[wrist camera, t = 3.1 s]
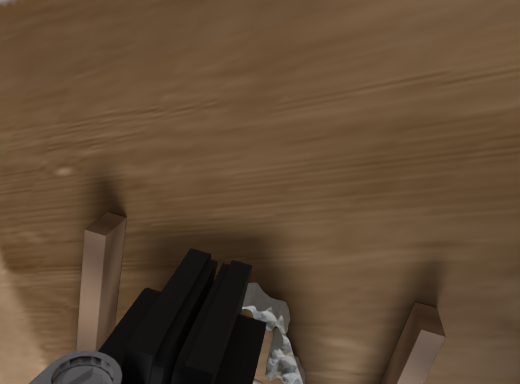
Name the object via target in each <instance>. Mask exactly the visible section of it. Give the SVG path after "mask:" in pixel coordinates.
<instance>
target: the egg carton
mask: <svg viewBox="0 0 520 384" xmlns="http://www.w3.org/2000/svg"><path fill="white" fill-rule="evenodd" d="M242 309H249V310H250V311H251V312H252V314H253V317H254V319H257V320H261V321H264V322H267V325H266V329H267V330H268V331H269V332H270V331H272V329H273V328H274V327H275V326H277V328H276V329H275V331H274V335H273V339H272V343H271V347H270V352H269V356H268V359H267V368H266V373H265V376H266V378H267V379H268V380H270V381H271V380H272V379H279V380H281V381H282V382H283V383H284V384H305V382H304V380H305V371H304V369H303V367H302V365H301V363H300V361H299V358H298V357H295V356H294V355H293V352H292V348H291V345H290V341H289V340H288V338H287V337H286V333H287V331H288V325H289V322H290V311H289V309H288V306H287V304H286V302H285V301H281V300H276V299H273V298H271V297H269V296H268V295H267V294H265V293H264V292H263V290H262V289H261V287H260V286H259V285H258V284H257V283H248V286H247V291H246V295H245V299H244V303H243V307H242ZM253 384H262V383H261V382H259V381H257V380H254V381H253Z"/></svg>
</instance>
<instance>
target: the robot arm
mask: <svg viewBox="0 0 520 384" xmlns="http://www.w3.org/2000/svg"><path fill="white" fill-rule="evenodd" d="M216 268H217V261H214V260H211V254H209V253H206V252H202V251H198V250H195V249H190V250H189V252H188V253H187V255H186V256H185V258H184V259H183V261H182V262H181V264H180V265H179V267H178V268H177V270H176V271H175V273H174V274H173V276H172V277H171V279H170V280H169V282H168V283H167V285H166V286H165V288H164V289H163V291H162V292H160V291H156V290H153V289H149V288H145V289H144V290H143V291H142V292H141V294H140V295H139V296H138V298H137V299H136V300H135V302H134V303H133V305H132V306H131V307H130V309H129V310H128V311H127V313H126V314H125V315H124V317H123V318H122V319H121V321H120V322H119V323H118V325H117V326H116V327H115V329H114V330H113V332H112V333H111V334H110V336H109V337H108V338H107V340H106V341H105V342H104V344H103V345H102V346H101V348H100V349H99V350H98V352H97V351H85V350H84V351H78V352H72V353H69V354H67V355H64V356H62V357H60V358H59V359H57V360H56V361H54V362H53V363H51V364H50V365H49V366H48V367H47V368H46V369H45V370H43V371H42V372H41V373H40V374H39V375H38V376H37V377H36V378H34V379H33V380H32V381H31V382H30V383H29V384H253V381H254V376H255V372H256V368H257V364H258V359H259V355H260V351H261V347H262V343H263V338H264V334H265V330H266V325H267V322H264V321H261V320H257V319H254V318H250V317H247V316H243V315H241V311H242V307H243V303H244V299H245V295H246V291H247V286H248V282H249V278H250V274H251V270H252V265H249V264H245V263H241V262H238V261H234V260H232V262H231V264H230V265H228V264H224V263H223V264H222V266H221V268H220V270H219V272H218V275H217V277H216V279H215V281H214V277H215V272H216ZM213 282H214V283H213Z"/></svg>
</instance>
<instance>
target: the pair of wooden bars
mask: <svg viewBox="0 0 520 384" xmlns="http://www.w3.org/2000/svg"><path fill="white" fill-rule="evenodd" d="M126 219H127V218H126V217H123V216H119V215H116V214H112V213H109V212H107V213H106V214H104V215H103V216H102V217H100V218H99V219H98V220H97V221H95V222H94V223H93V224H92V225H90V226H89V227H88V228H86V229H85V235H84V250H83V264H82V278H81V293H80V307H79V321H78V336H77V350H76V352H78V351H84V350H85V351H97V352H98V350H99V349H100V348H101V346H102V345H103V344H104V342H105V341H106V340H107V338H108V337H109V336H110V334H111V333H112V332H113V330H114V328H115V319H116V310H117V301H118V292H119V283H120V274H121V265H122V255H123V246H124V237H125V228H126ZM444 339H445V333H444V330H443V326H442V323H441V320H440V316H439V313H438V309H437V308H435V307H431V306H428V305H425V304H421V303H418V302H415V303H414V306H413V308H412V310H411V313H410V315H409V317H408V320H407V322H406V324H405V327H404V329H403V331H402V333H401V336H400V338H399V340H398V343H397V345H396V347H395V350H394V352H393V354H392V357H391V359H390V361H389V364H388V366H387V368H386V371H385V373H384V375H383V378H382V380H381V382H380V384H423V383H424V381H425V379H426V377H427V375H428V373H429V370H430V368H431V366H432V364H433V362H434V360H435V358H436V356H437V354H438V352H439V350H440V348H441V345H442V343H443V341H444Z"/></svg>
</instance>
